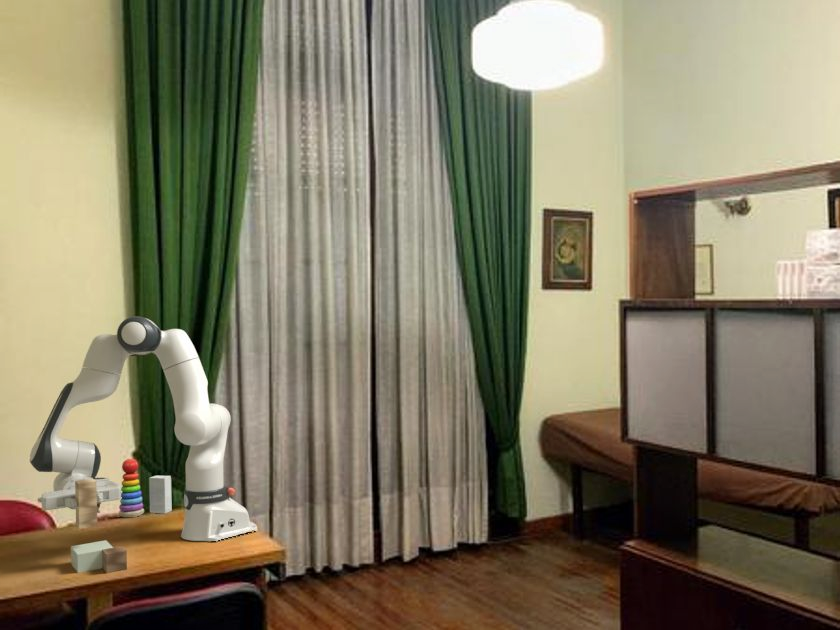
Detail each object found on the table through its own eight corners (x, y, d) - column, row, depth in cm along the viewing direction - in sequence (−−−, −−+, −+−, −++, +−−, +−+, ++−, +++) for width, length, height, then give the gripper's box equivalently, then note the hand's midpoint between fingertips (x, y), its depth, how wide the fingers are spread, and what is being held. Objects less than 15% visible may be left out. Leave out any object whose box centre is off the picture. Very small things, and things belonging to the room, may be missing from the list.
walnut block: (122, 564, 206) (121, 546, 206) (126, 569, 202) (126, 550, 202) (102, 568, 204) (102, 549, 204) (106, 573, 199) (106, 554, 199)
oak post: (93, 522, 211) (92, 478, 211) (97, 525, 207) (96, 481, 207) (76, 525, 208) (75, 480, 208) (79, 528, 204) (78, 483, 204)
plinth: (106, 558, 213) (106, 540, 213) (114, 566, 205) (113, 548, 205) (71, 564, 208) (70, 546, 208) (77, 573, 200) (77, 554, 200)
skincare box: (172, 510, 262) (171, 475, 262) (165, 514, 258) (164, 478, 258) (156, 509, 264) (155, 475, 264) (149, 513, 260) (148, 477, 260)
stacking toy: (148, 512, 261) (147, 456, 261) (137, 518, 253) (136, 461, 253) (126, 511, 262) (125, 456, 262) (114, 518, 254) (113, 461, 254)
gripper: (35, 487, 212) (44, 496, 201) (113, 476, 224) (125, 484, 212) (36, 509, 212) (44, 520, 201) (114, 498, 224) (126, 507, 212)
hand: (87, 502), depth 207 cm, fingers closed on oak post, 4 cm apart
